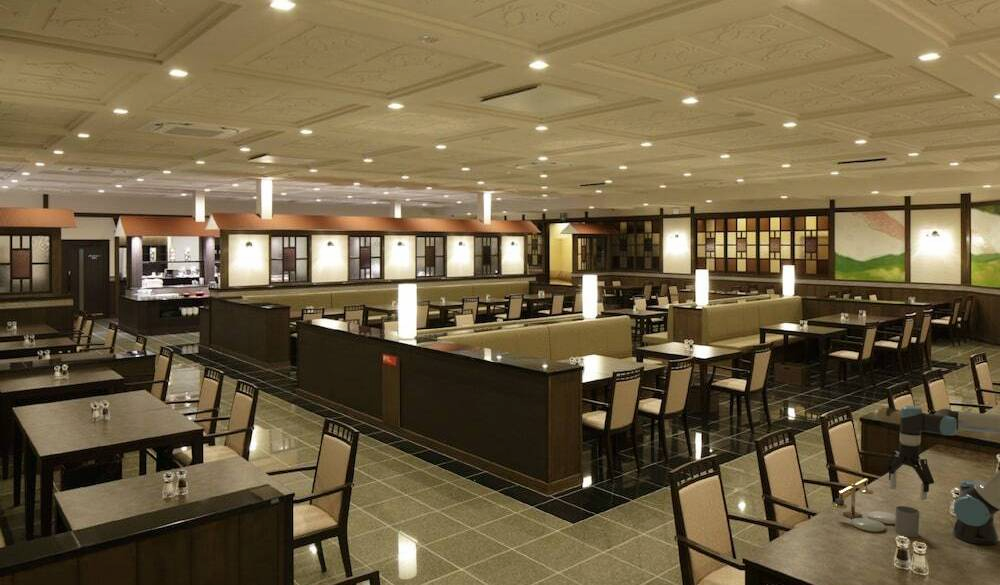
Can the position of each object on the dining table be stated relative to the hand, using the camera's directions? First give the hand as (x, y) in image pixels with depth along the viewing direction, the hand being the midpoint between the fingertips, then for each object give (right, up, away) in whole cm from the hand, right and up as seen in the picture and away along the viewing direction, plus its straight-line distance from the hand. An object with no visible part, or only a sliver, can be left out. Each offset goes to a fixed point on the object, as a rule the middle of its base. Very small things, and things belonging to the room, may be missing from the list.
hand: (907, 493), depth 284 cm
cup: (0, -17, +1) cm, 17 cm away
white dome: (-1, -16, +16) cm, 22 cm away
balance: (-13, -16, +19) cm, 28 cm away
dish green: (-13, -16, +7) cm, 22 cm away
